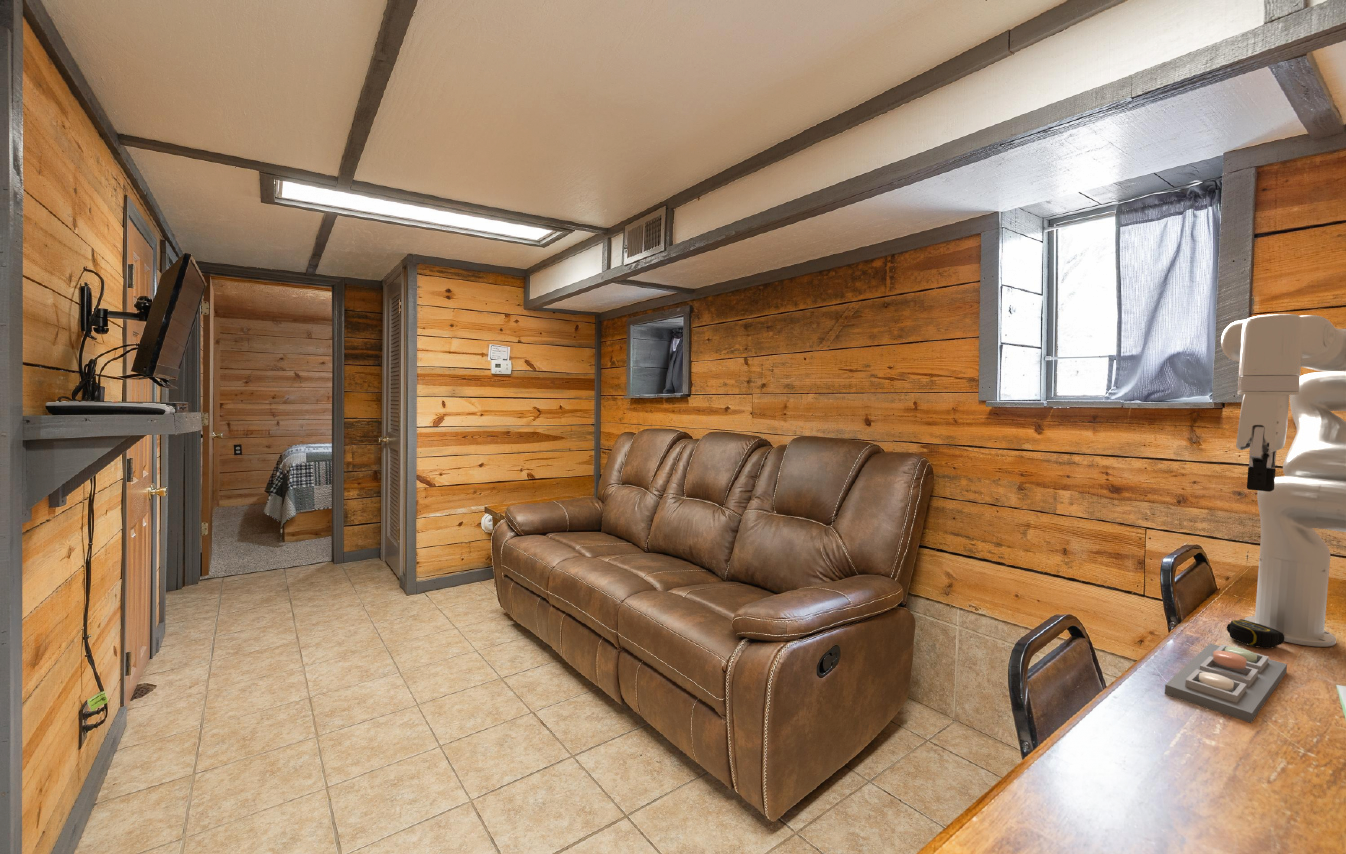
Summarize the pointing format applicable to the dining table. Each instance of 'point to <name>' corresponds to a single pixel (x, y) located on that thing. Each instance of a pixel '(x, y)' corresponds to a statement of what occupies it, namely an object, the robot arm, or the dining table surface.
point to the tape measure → (1254, 634)
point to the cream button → (1216, 681)
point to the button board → (1247, 688)
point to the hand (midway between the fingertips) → (1260, 489)
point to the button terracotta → (1229, 659)
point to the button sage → (1243, 653)
